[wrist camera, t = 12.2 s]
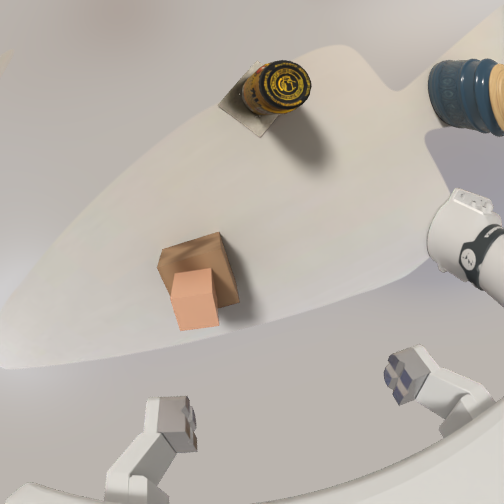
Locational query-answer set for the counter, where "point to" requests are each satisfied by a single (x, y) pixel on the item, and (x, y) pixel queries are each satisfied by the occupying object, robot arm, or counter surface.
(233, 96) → the condiment
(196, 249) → the walnut box
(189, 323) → the terracotta cube
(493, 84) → the canister
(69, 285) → the counter surface
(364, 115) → the counter surface
